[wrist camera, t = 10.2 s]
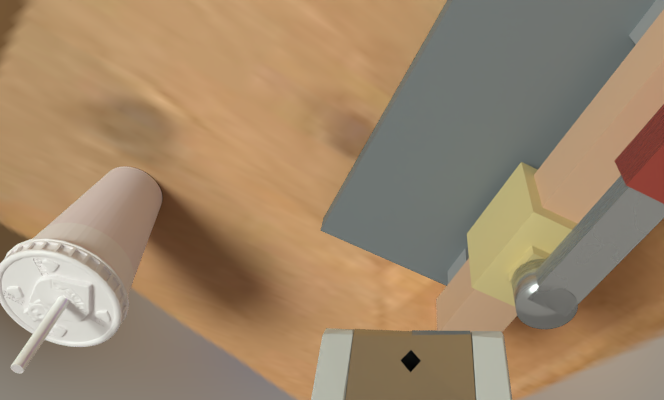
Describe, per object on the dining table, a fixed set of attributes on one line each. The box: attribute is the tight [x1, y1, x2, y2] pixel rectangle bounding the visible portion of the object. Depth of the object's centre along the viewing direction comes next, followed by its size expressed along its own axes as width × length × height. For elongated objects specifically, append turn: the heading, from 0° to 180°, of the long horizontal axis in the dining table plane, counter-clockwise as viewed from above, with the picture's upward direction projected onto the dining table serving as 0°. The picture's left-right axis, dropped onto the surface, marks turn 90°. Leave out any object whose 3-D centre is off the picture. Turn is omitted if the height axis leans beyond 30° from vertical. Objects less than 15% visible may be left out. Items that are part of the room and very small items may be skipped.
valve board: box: [321, 0, 664, 333], centre depth 31 cm, size 20×14×7 cm
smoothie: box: [0, 167, 162, 373], centre depth 33 cm, size 6×6×14 cm
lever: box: [511, 104, 664, 329], centre depth 26 cm, size 13×3×2 cm, turn 155°
